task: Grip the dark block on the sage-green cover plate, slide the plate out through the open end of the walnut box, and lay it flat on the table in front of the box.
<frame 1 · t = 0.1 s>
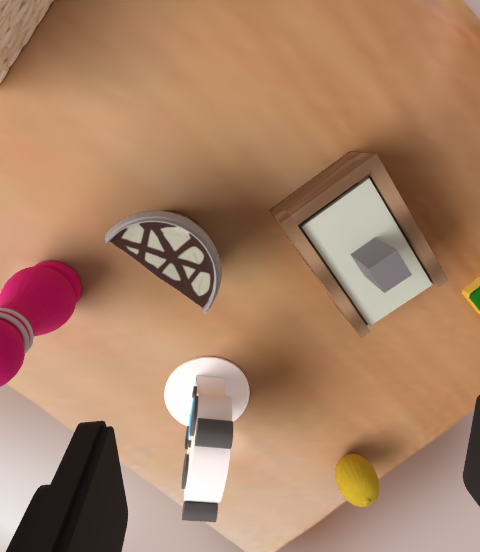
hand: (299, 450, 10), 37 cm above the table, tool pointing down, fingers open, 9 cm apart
cover plate: (366, 255, 42), point 6 cm above the table, touching slide box
slide box: (344, 236, 47), on the table
food container: (182, 231, 46), on the table
pepper mill: (55, 285, 47), on the table
lemon: (346, 455, 58), on the table
panda figurine: (207, 390, 53), on the table
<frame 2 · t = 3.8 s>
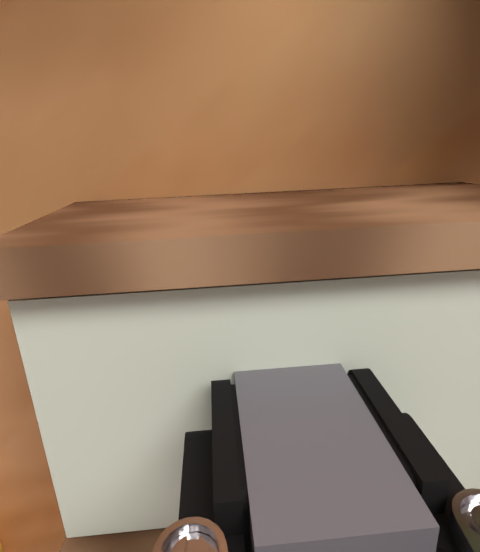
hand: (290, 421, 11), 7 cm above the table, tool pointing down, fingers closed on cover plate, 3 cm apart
cover plate: (282, 395, 12), point 6 cm above the table, touching gripper, slide box
slide box: (276, 314, 18), on the table
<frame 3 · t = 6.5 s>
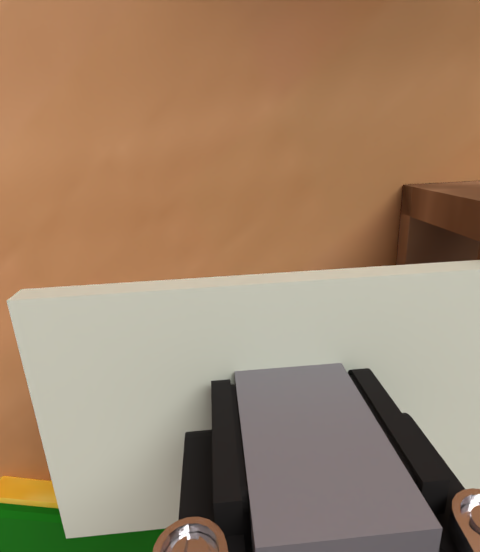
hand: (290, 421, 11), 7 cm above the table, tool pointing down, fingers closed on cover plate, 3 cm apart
cover plate: (283, 395, 12), point 6 cm above the table, touching gripper
dish sponge: (128, 528, 22), on the table
when the fingers open (2 cm above the table, at t = 9.1 s): cover plate drops 2 cm, on the table.
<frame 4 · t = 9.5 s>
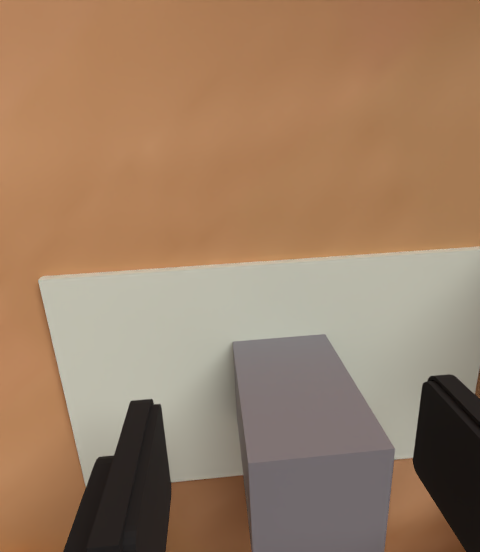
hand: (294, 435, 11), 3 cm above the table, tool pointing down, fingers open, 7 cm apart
cover plate: (275, 364, 14), on the table
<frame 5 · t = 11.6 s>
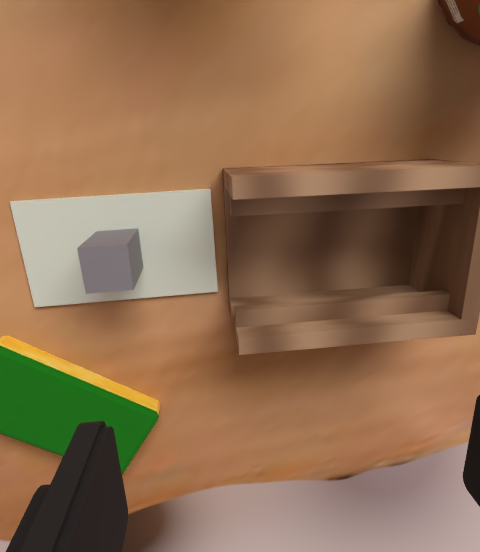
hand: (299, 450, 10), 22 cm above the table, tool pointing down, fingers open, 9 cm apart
cover plate: (122, 246, 30), on the table
slide box: (327, 236, 31), on the table
dish sponge: (70, 397, 34), on the table
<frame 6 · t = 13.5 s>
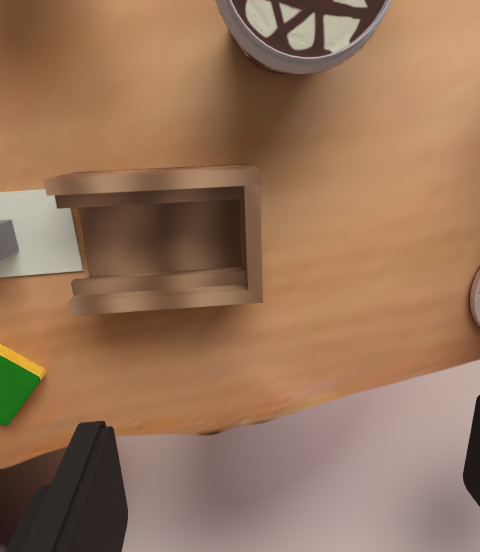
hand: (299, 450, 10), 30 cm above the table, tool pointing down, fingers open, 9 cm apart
cover plate: (3, 234, 38), on the table
slide box: (169, 226, 38), on the table
food container: (290, 49, 34), on the table
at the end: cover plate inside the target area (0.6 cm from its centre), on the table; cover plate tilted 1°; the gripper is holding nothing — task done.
